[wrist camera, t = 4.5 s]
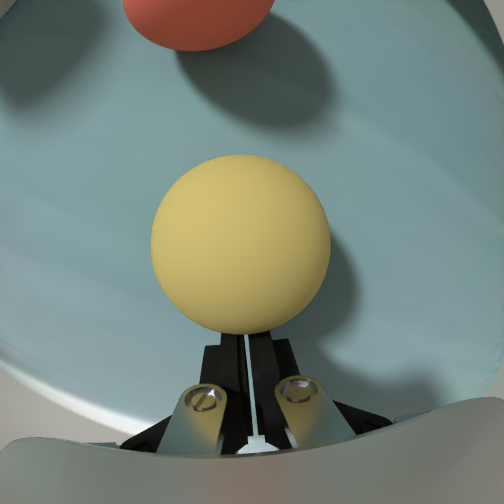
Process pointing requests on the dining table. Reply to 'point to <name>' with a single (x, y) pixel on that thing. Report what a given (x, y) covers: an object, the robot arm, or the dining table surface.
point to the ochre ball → (240, 244)
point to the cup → (5, 6)
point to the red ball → (195, 21)
